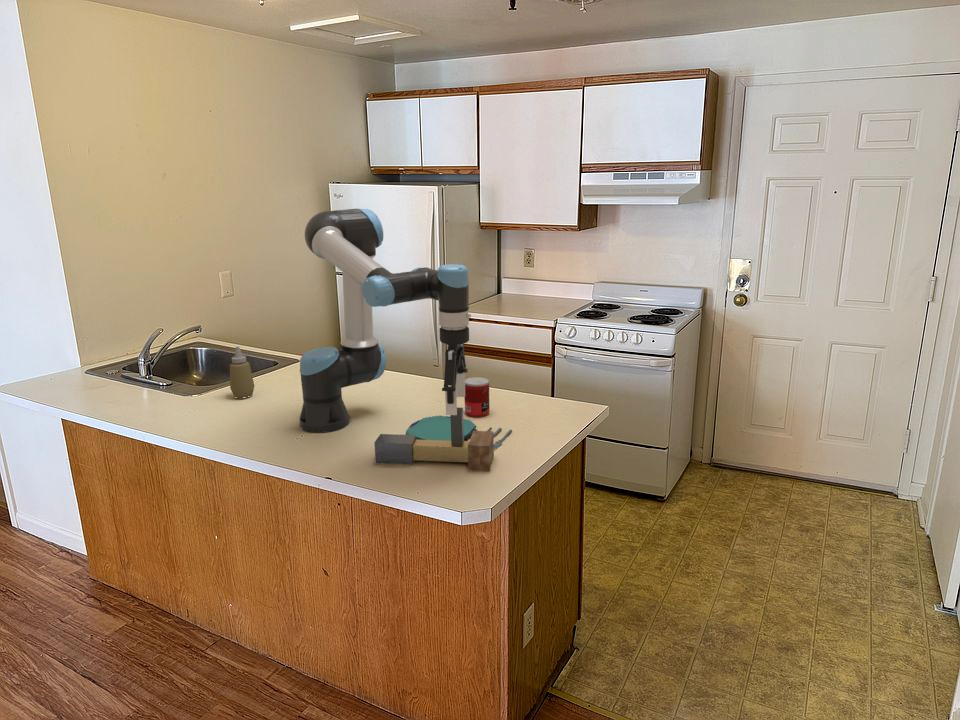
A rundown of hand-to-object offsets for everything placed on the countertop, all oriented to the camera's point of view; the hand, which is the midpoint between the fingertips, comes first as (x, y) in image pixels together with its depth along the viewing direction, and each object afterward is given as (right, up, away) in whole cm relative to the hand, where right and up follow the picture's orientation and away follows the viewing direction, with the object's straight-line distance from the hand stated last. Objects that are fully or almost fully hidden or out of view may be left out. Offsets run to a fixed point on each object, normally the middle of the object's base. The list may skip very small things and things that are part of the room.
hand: (455, 405), depth 179 cm
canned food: (+5, -5, +39) cm, 40 cm away
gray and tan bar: (-4, -15, +5) cm, 17 cm away
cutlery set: (0, -11, +22) cm, 25 cm away
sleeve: (-16, -15, +6) cm, 23 cm away
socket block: (+7, -16, +3) cm, 17 cm away
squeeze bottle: (-76, -1, +60) cm, 97 cm away
